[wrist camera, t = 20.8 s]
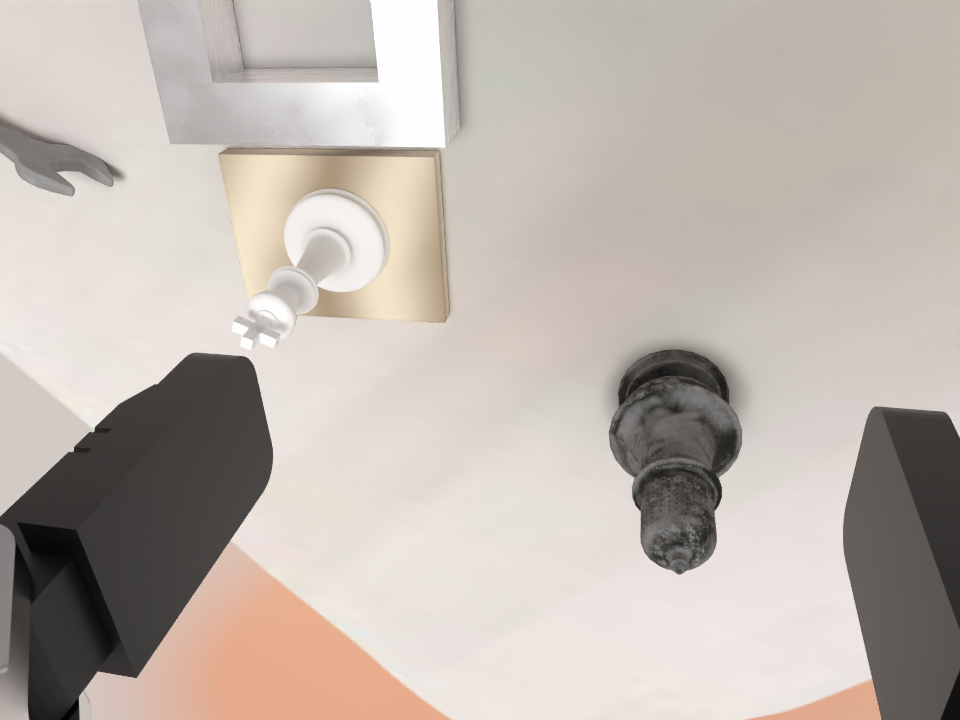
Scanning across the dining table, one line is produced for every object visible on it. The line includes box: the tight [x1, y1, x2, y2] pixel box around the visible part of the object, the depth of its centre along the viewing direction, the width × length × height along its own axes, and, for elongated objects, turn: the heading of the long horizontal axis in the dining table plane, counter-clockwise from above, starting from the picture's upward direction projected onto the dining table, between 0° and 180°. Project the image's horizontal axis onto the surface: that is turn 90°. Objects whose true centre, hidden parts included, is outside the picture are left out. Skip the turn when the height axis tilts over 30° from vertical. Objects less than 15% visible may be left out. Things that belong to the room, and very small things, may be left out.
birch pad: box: [218, 148, 449, 323], centre depth 38 cm, size 10×8×1 cm
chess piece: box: [231, 188, 389, 350], centre depth 33 cm, size 5×5×10 cm
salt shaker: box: [609, 350, 742, 574], centre depth 34 cm, size 6×6×12 cm
